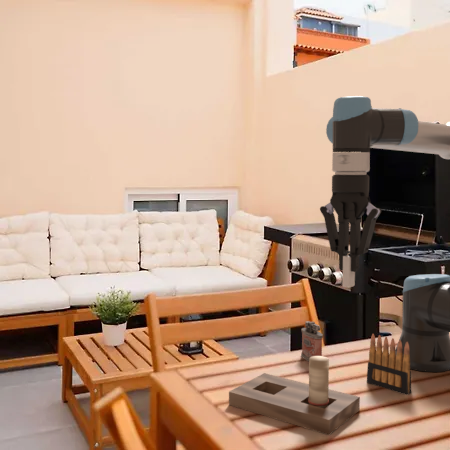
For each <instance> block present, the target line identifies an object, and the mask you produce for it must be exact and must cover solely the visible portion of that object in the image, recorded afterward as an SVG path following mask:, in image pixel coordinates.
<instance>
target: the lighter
mask: <svg viewBox="0 0 450 450" xmlns="http://www.w3.org/2000/svg"><path fill="white" fill-rule="evenodd" d="M320 331H321V326H320V325H318V324H317V323H315V321H310V320H308V321H307V320H306V321H305V327H302V328H301V336H302V337H301V341H302V342H301V353H300V354H301V356H300V357H302V358H303V359H304V360H305V361H307V362H309V358H310V357H312V356H323V352H322V351H323V337H324V334H323V333H321V332H320Z"/></svg>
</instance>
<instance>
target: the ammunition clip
mask: <svg viewBox="0 0 450 450" xmlns="http://www.w3.org/2000/svg"><path fill="white" fill-rule="evenodd" d="M381 336H382V335H380V334H379V335H378V336H377V341H376V336H375V334H374V333H372V334H371V338H370V344H369V345H370V346H369V352H368V362H367V371H366V372H367V373H366V383H367V384H370V385H373V386H376V387H379V388H384V389H386V390H390V391H393V392H395V393H399V394H403V395H406V396H407V395H409V394H412V371H411V369H410V354H409V352H410V351H409V344H408V342H406V344H405V348H404V357H403V355H402V343H401V340H399V339H398V341H399V342H397V344H398V346H397V345H396V341H395V338H391V341H390V343H389V339H388V336H385V337H384V340H383V341H382V337H381ZM389 344H390V346H389ZM396 347H397V355H396V354H395V349H396Z"/></svg>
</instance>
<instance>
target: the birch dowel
mask: <svg viewBox="0 0 450 450" xmlns="http://www.w3.org/2000/svg"><path fill="white" fill-rule="evenodd" d="M308 363H309V364H308V384H309V399H308V402H309V405H313V406H316V407H320V408H324V409H325V408H326V407H327V406H328V404H329V400H328V389H330V388H329V379H330V378H329V377H330V376H329V375H330V371H329V369H330V368H329V367H330V358H329V357H327V356H323V355H322V356H312V357H310V358H309V361H308Z"/></svg>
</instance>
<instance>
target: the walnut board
mask: <svg viewBox="0 0 450 450" xmlns="http://www.w3.org/2000/svg"><path fill="white" fill-rule="evenodd" d="M308 399H309V383H306V382H301V381H299V380H298V381H297V380H295V379H290V378H285V377H282V376H278V375H273V374H270V373H265V372H263V373H262V374H259V376H256V377H254V378H252V379H250V380H249V381H247V382H245V383H243V384H241V385H239V386H237V387H235V388H233V389H231V390H229V391H228V406H231V407H233V408H234V407H235V408H237V409H241V410H245V411H247V412H251V413H255V414H258V415H260V416H261V415H262V416H264V417H268V418H271V419H275V420H278V421H281V422H285V423H288V424H292V425H295V426H298V427H302V428H305V429H309V430H311V431H313V432H318V433H321V434H325V435H328V436H330V435H331V434H332V433H333V432H335V431H336V430H337V429H339V427H341V426H342V425H343V424H344V423H346V422H348V421H349V419H351V418H353V416H355V415H356V414H357V413H358V412H360V403H361V402H360V401H361V399H360V396H358V395H353V394H349V393H345V392H341V391H338V390H334V389H330V388H328V400H329V404H328V406H327V407H326V408H325V409H324V408H320V407H316V406H313V405H309V402H308Z"/></svg>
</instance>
